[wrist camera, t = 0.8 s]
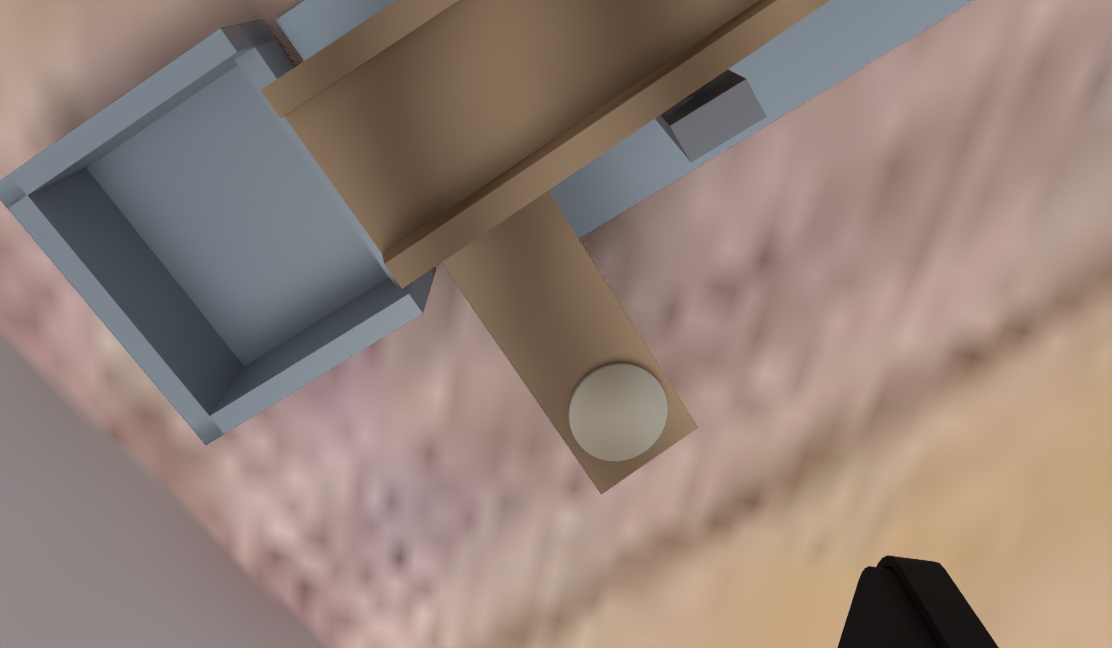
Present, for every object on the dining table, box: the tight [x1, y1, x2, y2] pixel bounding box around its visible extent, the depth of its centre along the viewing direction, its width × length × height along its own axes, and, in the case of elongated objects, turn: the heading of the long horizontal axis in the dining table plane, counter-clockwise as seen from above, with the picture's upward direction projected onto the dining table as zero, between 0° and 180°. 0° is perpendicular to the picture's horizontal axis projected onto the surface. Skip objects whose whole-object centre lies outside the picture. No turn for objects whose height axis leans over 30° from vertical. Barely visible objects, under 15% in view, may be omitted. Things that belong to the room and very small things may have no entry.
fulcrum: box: [276, 0, 973, 238], centre depth 30 cm, size 21×12×8 cm, turn 122°
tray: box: [0, 19, 436, 445], centre depth 34 cm, size 9×11×5 cm
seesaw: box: [261, 0, 830, 494], centre depth 28 cm, size 20×15×3 cm
